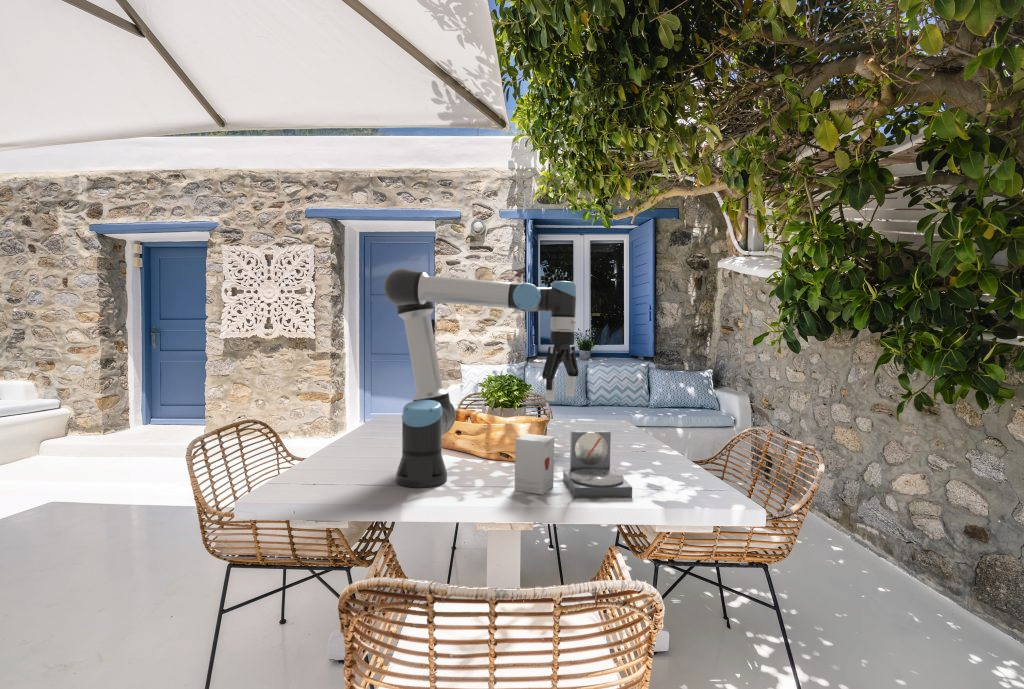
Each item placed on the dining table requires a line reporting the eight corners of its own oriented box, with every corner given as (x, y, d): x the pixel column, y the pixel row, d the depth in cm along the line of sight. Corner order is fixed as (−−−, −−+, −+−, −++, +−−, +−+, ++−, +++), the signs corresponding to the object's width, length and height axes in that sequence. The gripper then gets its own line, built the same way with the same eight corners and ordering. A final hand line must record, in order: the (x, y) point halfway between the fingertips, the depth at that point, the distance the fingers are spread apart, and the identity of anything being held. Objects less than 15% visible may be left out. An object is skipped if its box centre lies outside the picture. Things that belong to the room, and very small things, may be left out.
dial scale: (574, 498, 143) (575, 444, 143) (563, 479, 161) (564, 430, 161) (632, 497, 145) (633, 443, 144) (614, 478, 163) (615, 430, 162)
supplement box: (543, 495, 146) (543, 442, 145) (513, 491, 149) (514, 438, 149) (554, 486, 154) (555, 436, 153) (526, 482, 158) (527, 433, 157)
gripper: (554, 331, 152) (552, 404, 153) (590, 331, 173) (587, 395, 174) (532, 330, 156) (529, 401, 157) (569, 330, 177) (567, 393, 178)
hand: (560, 398), depth 165 cm, fingers open, 13 cm apart
